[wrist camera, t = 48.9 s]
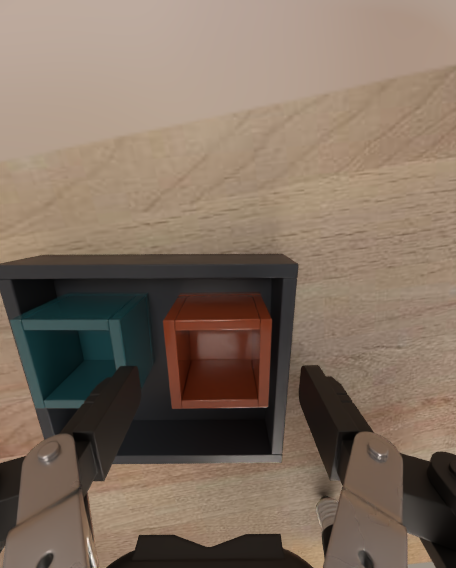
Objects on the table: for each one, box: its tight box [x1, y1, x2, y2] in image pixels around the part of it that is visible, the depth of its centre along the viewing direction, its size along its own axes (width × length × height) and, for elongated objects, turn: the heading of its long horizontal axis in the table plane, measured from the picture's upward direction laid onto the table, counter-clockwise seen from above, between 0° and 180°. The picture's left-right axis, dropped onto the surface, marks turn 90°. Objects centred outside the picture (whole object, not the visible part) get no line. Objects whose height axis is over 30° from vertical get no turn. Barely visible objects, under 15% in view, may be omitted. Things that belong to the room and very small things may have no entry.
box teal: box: [10, 292, 155, 408], centre depth 14 cm, size 6×6×4 cm
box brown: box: [163, 292, 272, 409], centre depth 15 cm, size 6×6×4 cm
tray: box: [0, 254, 298, 464], centre depth 16 cm, size 15×17×4 cm
